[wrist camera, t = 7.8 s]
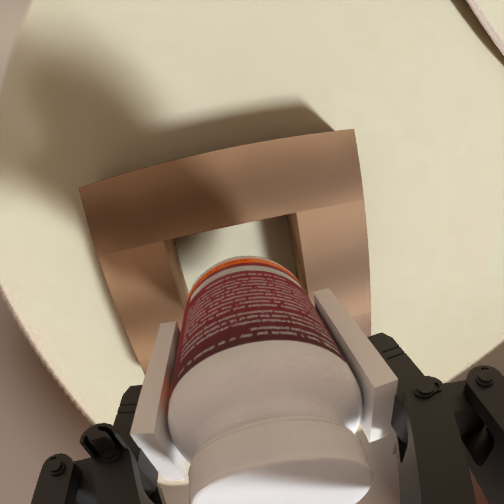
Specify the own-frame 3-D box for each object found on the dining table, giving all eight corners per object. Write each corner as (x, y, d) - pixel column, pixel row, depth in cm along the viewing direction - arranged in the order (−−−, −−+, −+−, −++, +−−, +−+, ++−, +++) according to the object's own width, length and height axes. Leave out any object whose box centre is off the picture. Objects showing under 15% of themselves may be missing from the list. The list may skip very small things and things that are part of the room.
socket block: (97, 182, 19) (79, 187, 16) (335, 131, 19) (353, 128, 16) (164, 379, 24) (159, 403, 21) (356, 338, 24) (370, 358, 21)
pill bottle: (161, 298, 16) (101, 489, 5) (261, 227, 15) (347, 382, 5) (233, 374, 17) (252, 551, 7) (324, 317, 17) (421, 480, 6)
